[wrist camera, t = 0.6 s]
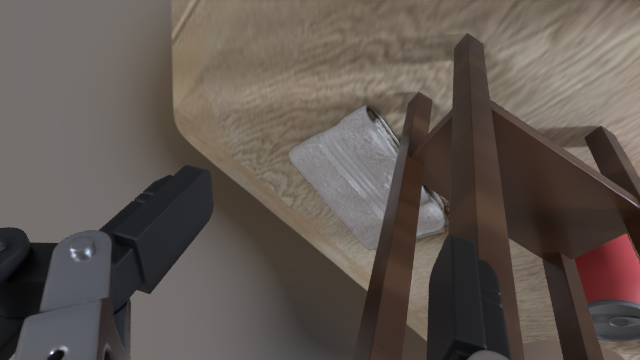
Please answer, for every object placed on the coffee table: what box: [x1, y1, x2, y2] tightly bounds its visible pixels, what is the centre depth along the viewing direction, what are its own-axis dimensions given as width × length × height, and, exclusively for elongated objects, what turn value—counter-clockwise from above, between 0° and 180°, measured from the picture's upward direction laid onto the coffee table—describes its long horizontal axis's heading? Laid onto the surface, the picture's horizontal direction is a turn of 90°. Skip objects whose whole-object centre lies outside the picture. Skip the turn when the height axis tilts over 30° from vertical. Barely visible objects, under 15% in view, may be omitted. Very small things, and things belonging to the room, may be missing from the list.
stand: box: [353, 33, 640, 360], centre depth 22 cm, size 8×16×32 cm, turn 62°
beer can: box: [574, 234, 640, 342], centre depth 34 cm, size 7×7×12 cm
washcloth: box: [289, 105, 449, 250], centre depth 42 cm, size 12×18×3 cm, turn 40°
